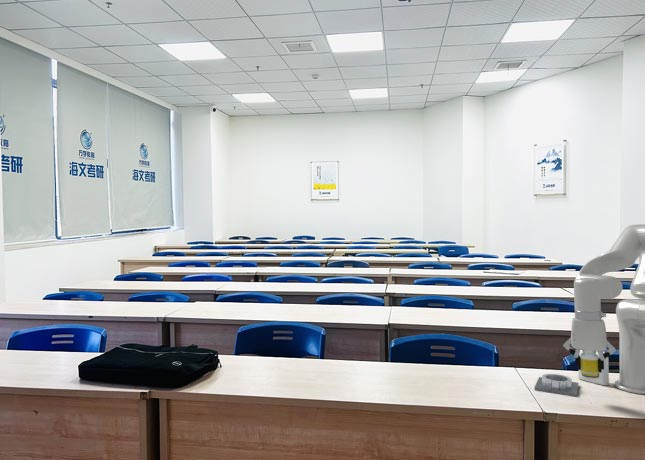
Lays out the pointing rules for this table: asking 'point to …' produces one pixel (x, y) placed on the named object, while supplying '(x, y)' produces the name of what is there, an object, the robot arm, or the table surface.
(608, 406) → the table surface
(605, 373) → the photo printer
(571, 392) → the ring collar block
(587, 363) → the supplement bottle
